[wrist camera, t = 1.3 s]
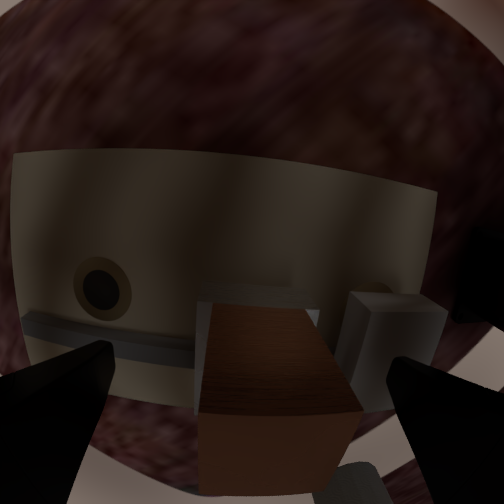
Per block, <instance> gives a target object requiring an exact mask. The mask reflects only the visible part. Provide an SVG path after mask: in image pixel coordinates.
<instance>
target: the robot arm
mask: <svg viewBox="0 0 504 504" xmlns="http://www.w3.org/2000/svg"><path fill="white" fill-rule="evenodd" d="M478 233H479V235H478ZM452 319H453V321H455V322H456V323H458V324H460V323H473V322H484V321H487V322H488V323H490V324H492V325H493V326H495V327H496V328H498V329H500V330H501V331H503V332H504V233H500V232H497V231H493V230H489V229H485V228H482V227H475V228H474V229H473V231H472V235H471V241H470V247H469V252H468V257H467V262H466V266H465V271H464V275H463V279H462V283H461V287H460V291H459V295H458V299H457V302H456V306H455V309H454V312H453V316H452ZM115 368H116V364H115V357H114V348H113V344H112V343H111V342H110V341H105V340H97V341H95V342H92V343H90V344H87V345H85V346H82V347H79V348H77V349H74V350H72V351H69V352H66V353H64V354H61V355H59V356H56V357H53V358H51V359H48V360H45V361H43V362H40V363H37V364H35V365H32V366H29V367H27V368H24V369H21V370H18V371H16V372H15V373H14V372H13V373H10V374H7V375H5V376H2V377H0V504H67V501H68V498H69V495H70V492H71V489H72V487H73V483H74V481H75V478H76V475H77V473H78V470H79V468H80V465H81V462H82V460H83V457H84V455H85V452H86V450H87V447H88V445H89V442H90V440H91V437H92V435H93V433H94V430H95V428H96V426H97V423H98V421H99V418H100V416H101V414H102V411H103V409H104V406H105V402H106V399H107V396H108V392H109V389H110V386H111V382H112V379H113V376H114V373H115ZM386 384H387V387H388V390H389V393H390V396H391V399H392V402H393V405H394V408H395V411H396V414H397V416H398V419H399V421H400V423H401V426H402V428H403V430H404V432H405V435H406V437H407V439H408V441H409V444H410V446H411V448H412V451H413V453H414V455H415V458H416V460H417V462H418V465H419V467H420V470H421V472H422V474H423V477H424V479H425V482H426V484H427V487H428V489H429V492H430V495H431V497H432V500H433V502H434V504H504V394H503V393H500V392H497V391H494V390H491V389H488V388H484V387H483V386H480V385H478V384H475V383H472V382H469V381H467V380H464V379H462V378H459V377H456V376H454V375H451V374H449V373H446V372H444V371H441V370H438V369H436V368H433V367H431V366H428V365H426V364H423V363H421V362H418V361H416V360H414V359H411V358H409V357H406V356H399V357H395V358H394V359H393V360H392V363H391V366H390V368H389V371H388V374H387V376H386Z"/></svg>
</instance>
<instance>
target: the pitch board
mask: <svg viewBox="0 0 504 504" xmlns="http://www.w3.org/2000/svg"><path fill="white" fill-rule="evenodd" d="M437 193H438V192H435V191H432V190H428V189H424V188H421V187H417V186H413V185H409V184H405V183H401V182H397V181H392V180H388V179H384V178H379V177H375V176H370V175H365V174H361V173H356V172H351V171H346V170H340V169H335V168H329V167H324V166H318V165H312V164H306V163H299V162H292V161H286V160H278V159H271V158H263V157H254V156H246V155H236V154H226V153H214V152H202V151H187V150H167V149H135V148H99V149H68V150H50V151H36V152H25V153H15V154H14V157H13V167H12V180H11V201H10V230H11V252H12V264H13V274H14V283H15V291H16V298H17V304H18V310H19V315H20V321H21V326H22V330H23V335H24V339H25V344H26V348H27V352H28V355H29V359H30V363H31V366H32V365H35V364H37V363H40V362H43V361H45V360H48V359H51V358H53V357H56V356H59V355H61V354H64V353H66V352H69V351H72V350H74V349H77V348H79V347H82V346H85V345H87V344H90V343H92V342H95V341H97V340H105V341H110V342H111V343H112V344H113V348H114V357H115V364H116V368H115V373H114V376H113V379H112V382H111V386H110V389H109V392H108V394H111V395H115V396H120V397H125V398H130V399H135V400H140V401H146V402H152V403H158V404H165V405H172V406H179V407H188V408H194V378H195V339H196V314H197V300H198V296H199V293H200V290H201V286H202V283H203V280H207V281H218V282H229V283H240V284H252V285H264V286H277V287H291V288H304V289H305V290H306V291H307V293H308V294H309V296H310V297H311V298H312V300H313V301H314V303H315V304H316V306H317V307H318V308H319V310H320V311H319V316H318V321H317V326H316V328H317V330H318V331H319V333H320V335H321V337H322V338H323V340H324V342H325V343H326V345H327V347H328V348H329V350H330V352H331V354H332V355H333V357H334V359H335V360H336V362H337V364H338V366H339V367H340V369H341V371H342V372H343V374H344V376H345V378H346V379H347V381H348V383H349V384H350V386H351V388H352V390H353V391H354V393H355V395H356V397H357V398H358V400H359V402H360V404H361V405H362V407H363V409H364V413H370V412H377V411H384V410H390V409H395V408H394V405H393V402H392V399H391V396H390V393H389V390H388V387H387V384H386V376H387V374H388V371H389V368H390V366H391V363H392V360H393V359H394V358H395V357H399V356H406V357H409V358H411V359H414V360H416V361H418V362H421V363H423V364H426V365H428V366H430V364H431V361H432V358H433V356H434V353H435V351H436V348H437V345H438V342H439V340H440V337H441V334H442V331H443V328H444V325H445V322H446V319H447V315H448V312H449V311H447V310H446V309H444V308H443V307H441V306H439V305H438V304H436V303H435V302H433V301H431V300H430V299H428V298H427V297H425V296H423V295H422V294H419V293H420V289H421V285H422V281H423V276H424V272H425V267H426V263H427V258H428V253H429V248H430V242H431V236H432V230H433V224H434V217H435V210H436V202H437Z"/></svg>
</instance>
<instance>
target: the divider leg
mask: <svg viewBox="0 0 504 504" xmlns="http://www.w3.org/2000/svg"><path fill="white" fill-rule="evenodd" d="M319 311H320V310H319V308H318V307H317V306H316V304H315V303H314V301H313V300H312V298H311V297H310V296H309V294H308V293H307V291H306V290H305V289H304V288H291V287H277V286H264V285H252V284H240V283H229V282H218V281H207V280H203V283H202V286H201V290H200V293H199V296H198V300H197V314H196V339H195V378H194V415H198V476H199V494H205V495H220V496H277V495H278V496H279V495H293V494H304V493H313V492H321V491H324V490H325V488H326V486H327V485H328V483H329V481H330V480H331V478H332V476H333V474H334V472H335V471H336V469H337V467H338V465H339V463H340V461H341V459H342V457H343V456H344V454H345V452H346V449H347V447H348V446H349V444H350V442H351V439H352V437H353V435H354V433H355V431H356V429H357V427H358V425H359V422H360V420H361V418H362V416H363V413H364V409H363V407H362V405H361V404H360V402H359V400H358V398H357V397H356V395H355V393H354V391H353V390H352V388H351V386H350V384H349V383H348V381H347V379H346V378H345V376H344V374H343V372H342V371H341V369H340V367H339V366H338V364H337V362H336V360H335V359H334V357H333V355H332V354H331V352H330V350H329V348H328V347H327V345H326V343H325V342H324V340H323V338H322V337H321V335H320V333H319V331H318V330H317V328H316V326H317V321H318V316H319Z"/></svg>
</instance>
